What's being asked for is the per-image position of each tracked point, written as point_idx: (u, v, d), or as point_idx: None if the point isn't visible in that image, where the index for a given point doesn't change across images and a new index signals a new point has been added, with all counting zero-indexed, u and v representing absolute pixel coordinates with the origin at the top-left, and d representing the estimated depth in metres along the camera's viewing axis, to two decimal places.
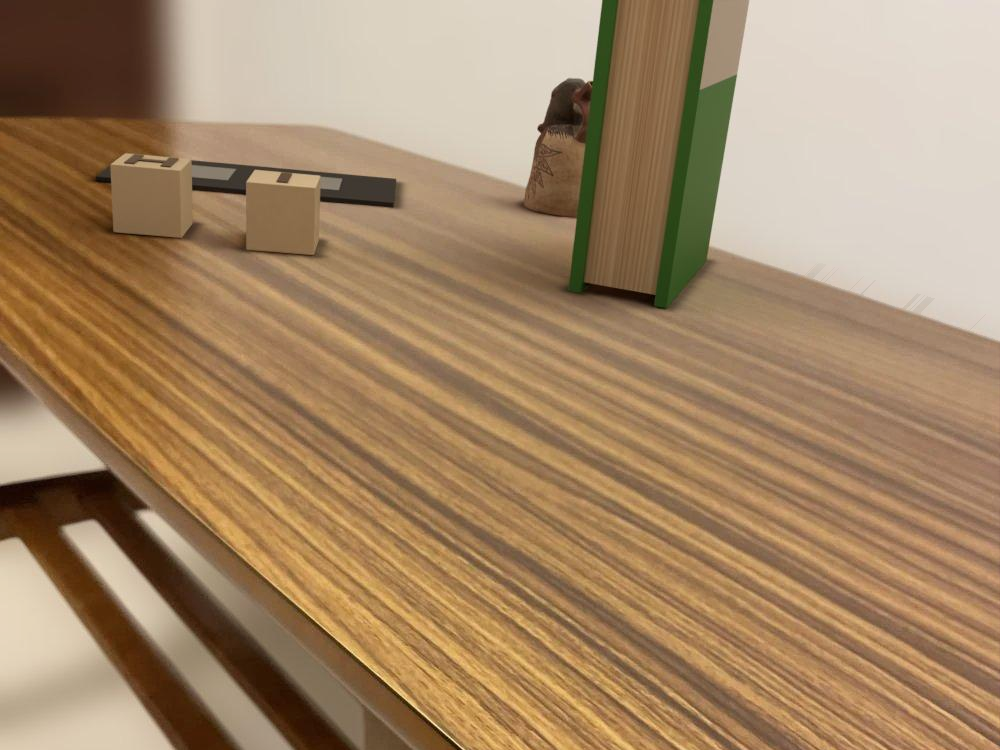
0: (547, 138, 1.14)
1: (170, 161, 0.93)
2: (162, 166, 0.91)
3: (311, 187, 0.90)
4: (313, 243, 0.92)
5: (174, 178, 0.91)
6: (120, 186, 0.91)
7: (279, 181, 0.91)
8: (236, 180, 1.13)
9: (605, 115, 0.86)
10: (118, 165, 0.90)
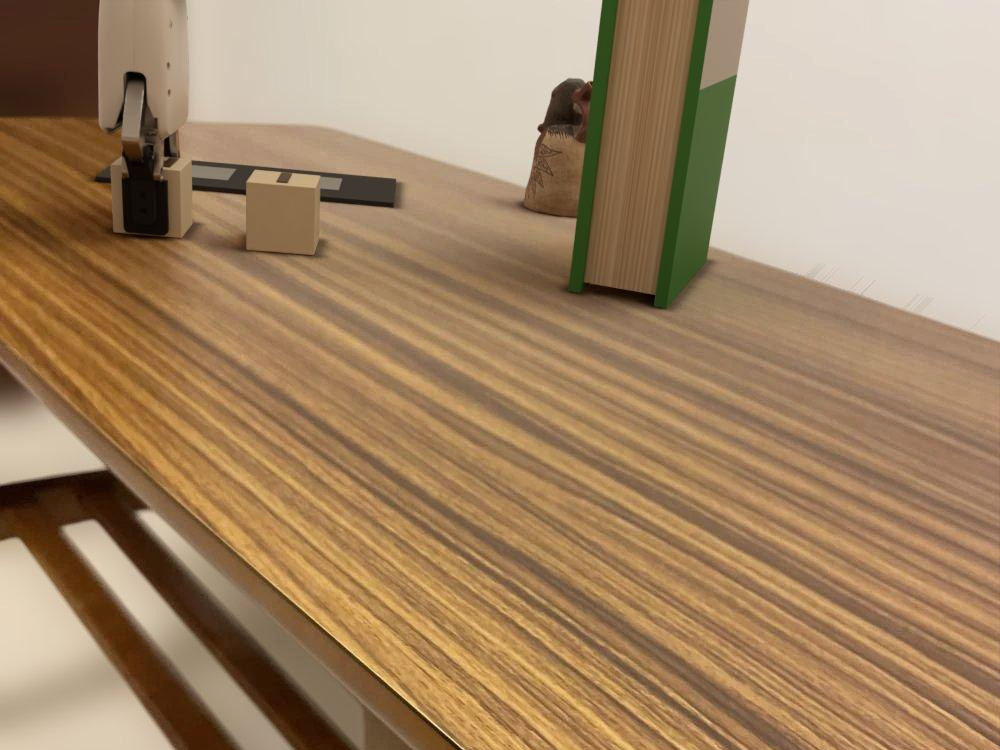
0: (547, 138, 1.14)
1: (170, 161, 0.93)
2: None
3: (311, 187, 0.90)
4: (313, 243, 0.92)
5: (174, 178, 0.91)
6: (120, 186, 0.91)
7: (279, 181, 0.91)
8: (236, 180, 1.13)
9: (605, 115, 0.86)
10: (118, 165, 0.90)
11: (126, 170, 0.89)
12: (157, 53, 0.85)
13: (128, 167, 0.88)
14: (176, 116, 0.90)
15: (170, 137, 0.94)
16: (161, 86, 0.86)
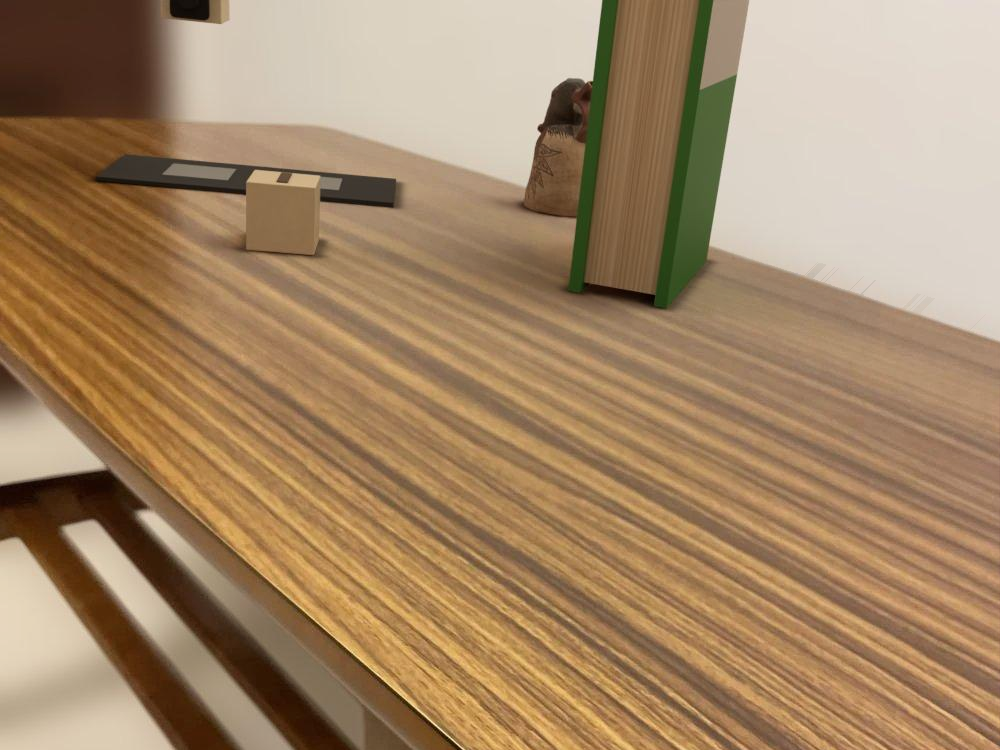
0: (547, 138, 1.14)
1: None
2: None
3: (311, 187, 0.90)
4: (313, 243, 0.92)
5: None
6: None
7: (279, 181, 0.91)
8: (236, 180, 1.13)
9: (605, 115, 0.86)
10: None
11: None
12: None
13: None
14: None
15: None
16: None
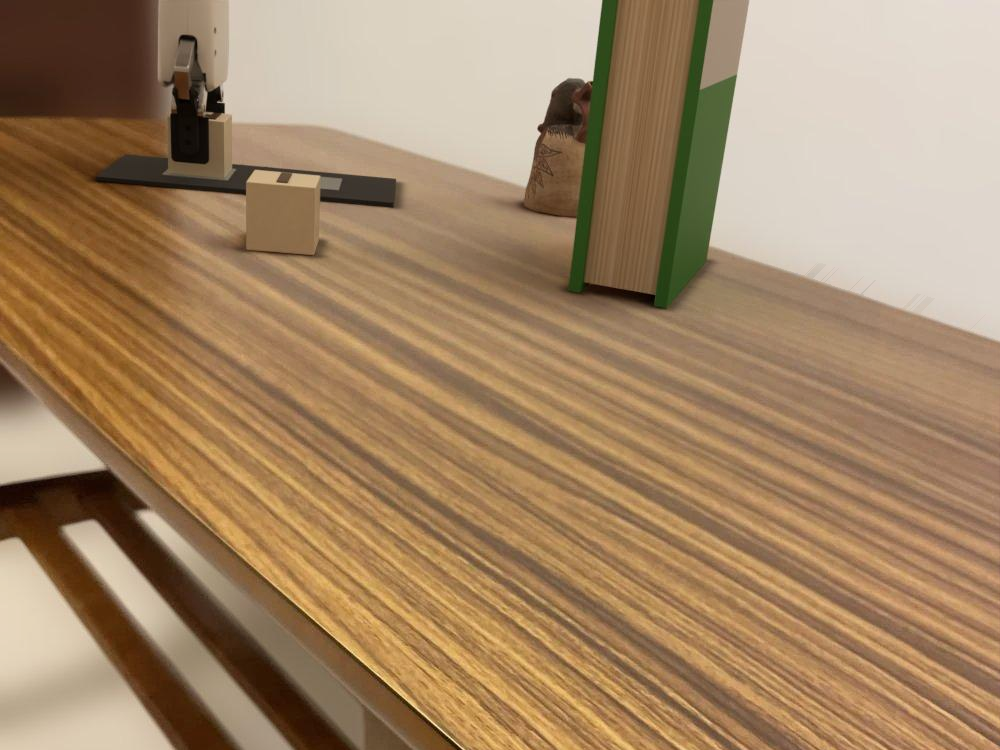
0: (547, 138, 1.14)
1: (215, 115, 1.12)
2: (209, 118, 1.11)
3: (311, 187, 0.90)
4: (313, 243, 0.92)
5: (219, 128, 1.11)
6: None
7: (279, 181, 0.91)
8: (236, 180, 1.13)
9: (605, 115, 0.86)
10: None
11: (175, 104, 1.06)
12: (206, 20, 1.04)
13: (177, 104, 1.05)
14: (220, 73, 1.09)
15: None
16: (209, 47, 1.05)
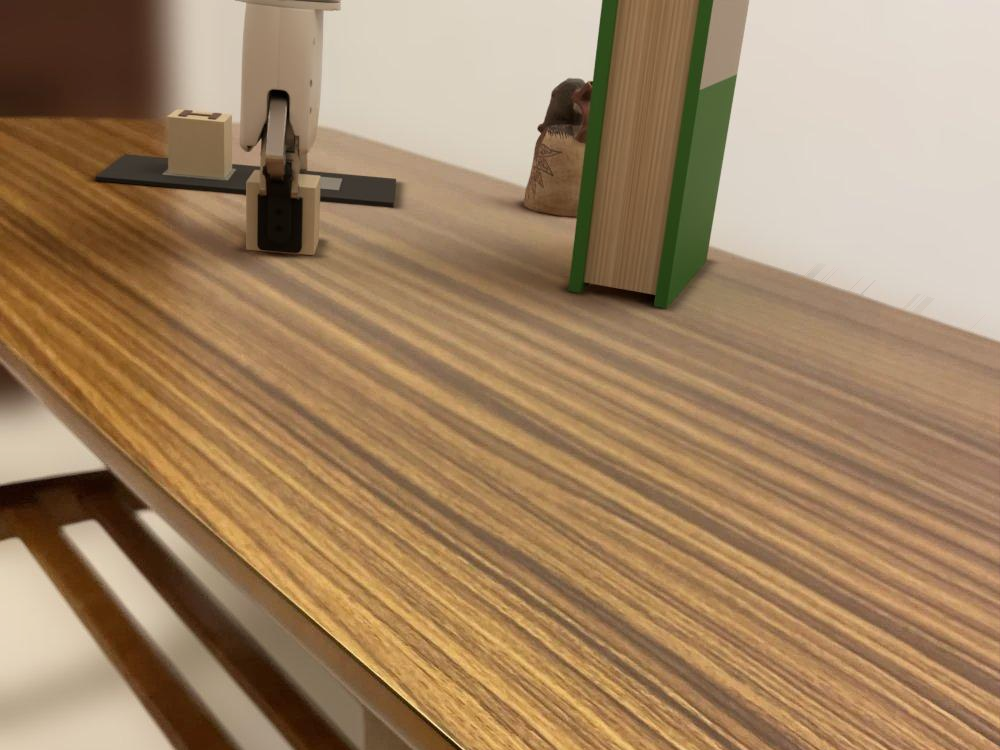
0: (547, 138, 1.14)
1: (215, 115, 1.12)
2: (209, 118, 1.11)
3: (311, 187, 0.90)
4: (313, 243, 0.92)
5: (219, 128, 1.11)
6: (174, 134, 1.10)
7: None
8: (236, 180, 1.13)
9: (605, 115, 0.86)
10: (173, 117, 1.10)
11: (264, 188, 0.88)
12: (301, 71, 0.85)
13: (267, 185, 0.88)
14: (313, 133, 0.89)
15: None
16: (304, 104, 0.85)
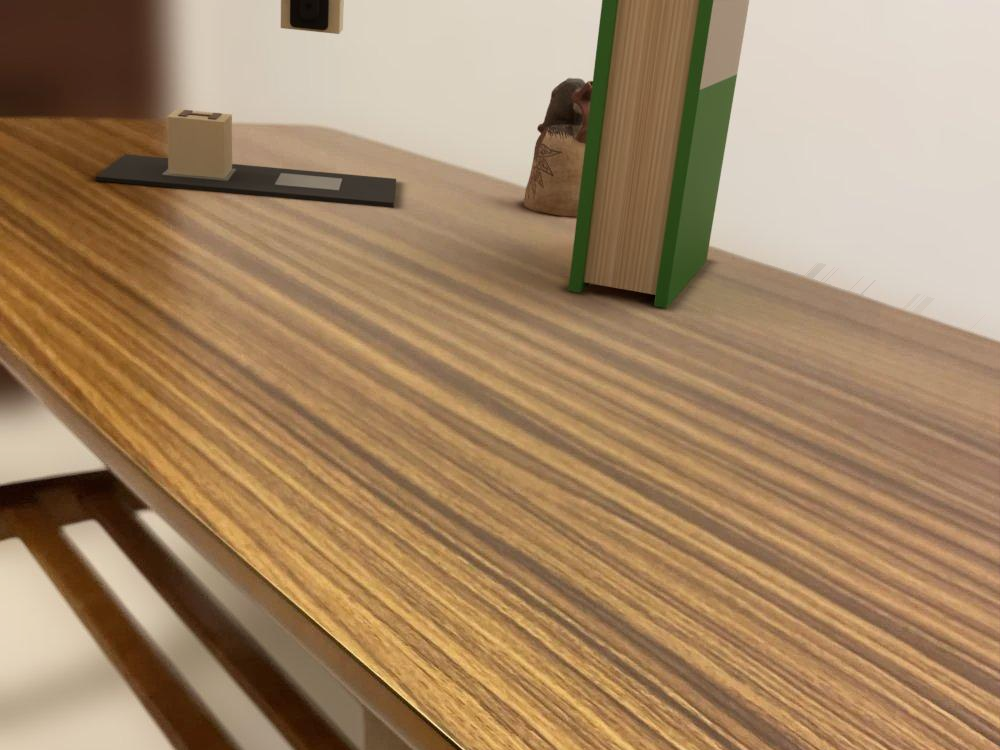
0: (547, 138, 1.14)
1: (215, 115, 1.12)
2: (209, 118, 1.11)
3: None
4: (338, 22, 1.06)
5: (219, 128, 1.11)
6: (174, 134, 1.10)
7: None
8: (236, 180, 1.13)
9: (605, 115, 0.86)
10: (173, 117, 1.10)
11: None
12: None
13: None
14: None
15: None
16: None
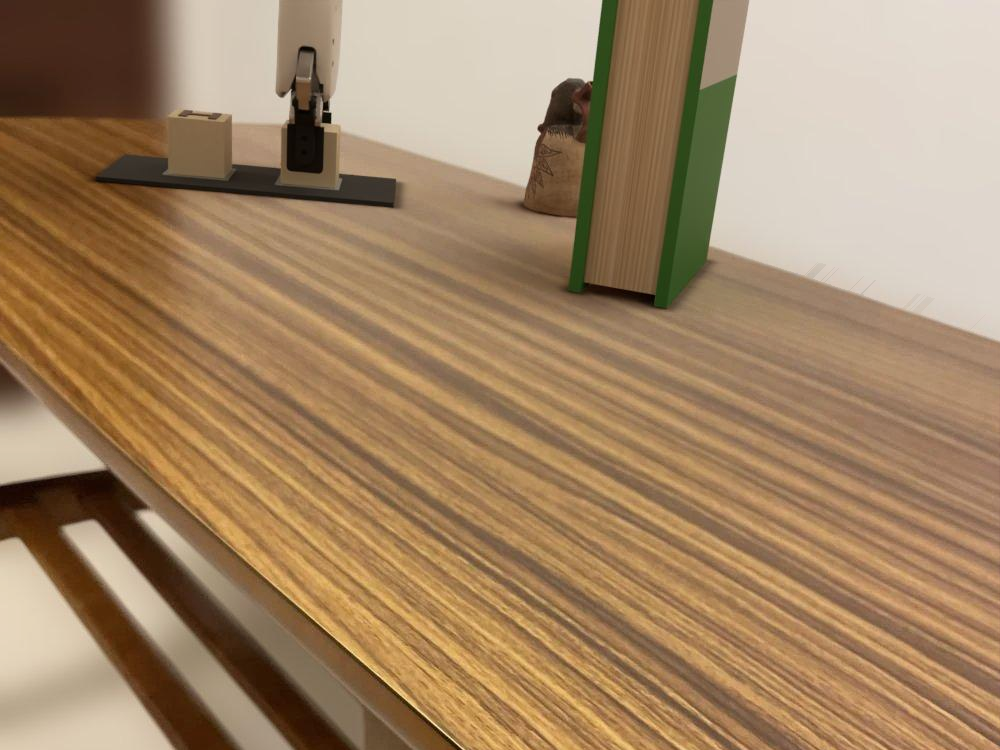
0: (547, 138, 1.14)
1: (215, 115, 1.12)
2: (209, 118, 1.11)
3: (333, 132, 1.12)
4: (335, 178, 1.13)
5: (219, 128, 1.11)
6: (174, 134, 1.10)
7: None
8: (236, 180, 1.13)
9: (605, 115, 0.86)
10: (173, 117, 1.10)
11: (293, 114, 1.07)
12: (326, 31, 1.06)
13: (296, 114, 1.06)
14: (334, 83, 1.10)
15: None
16: (327, 58, 1.06)
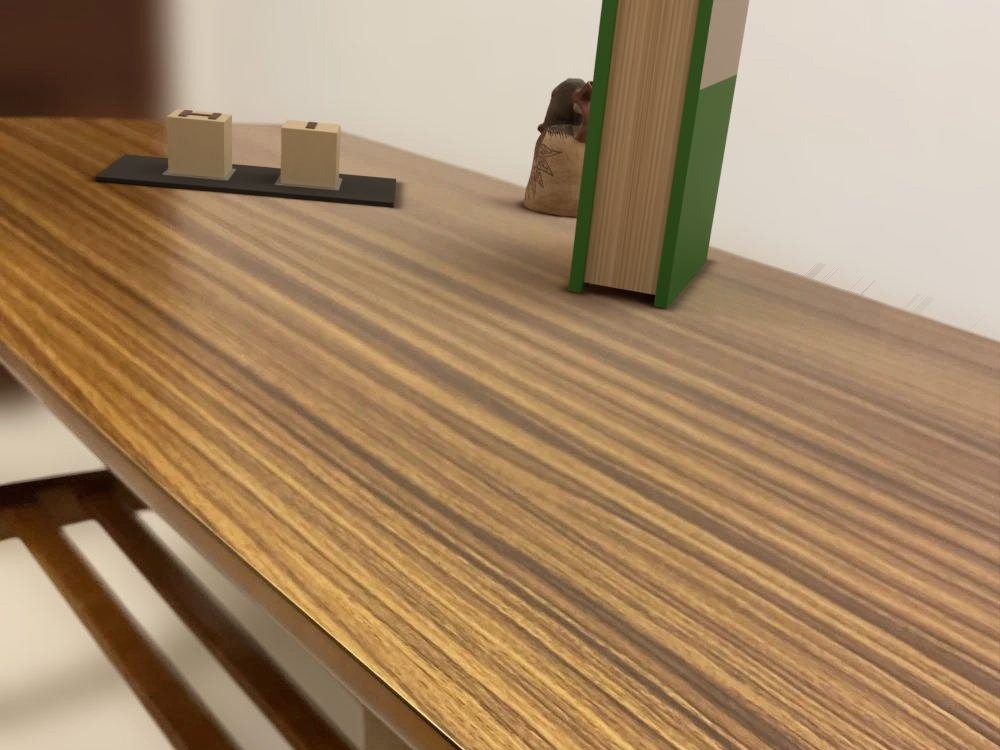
0: (547, 138, 1.14)
1: (215, 115, 1.12)
2: (209, 118, 1.11)
3: (333, 132, 1.12)
4: (335, 178, 1.13)
5: (219, 128, 1.11)
6: (174, 134, 1.10)
7: (307, 127, 1.12)
8: (236, 180, 1.13)
9: (605, 115, 0.86)
10: (173, 117, 1.10)
11: None
12: None
13: None
14: None
15: None
16: None
